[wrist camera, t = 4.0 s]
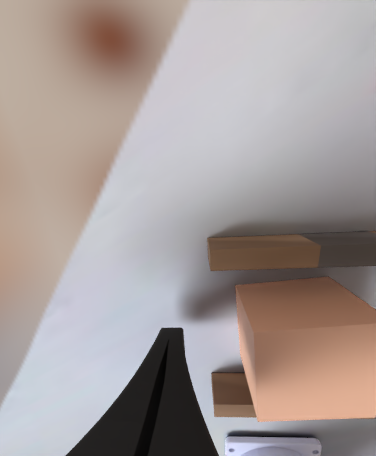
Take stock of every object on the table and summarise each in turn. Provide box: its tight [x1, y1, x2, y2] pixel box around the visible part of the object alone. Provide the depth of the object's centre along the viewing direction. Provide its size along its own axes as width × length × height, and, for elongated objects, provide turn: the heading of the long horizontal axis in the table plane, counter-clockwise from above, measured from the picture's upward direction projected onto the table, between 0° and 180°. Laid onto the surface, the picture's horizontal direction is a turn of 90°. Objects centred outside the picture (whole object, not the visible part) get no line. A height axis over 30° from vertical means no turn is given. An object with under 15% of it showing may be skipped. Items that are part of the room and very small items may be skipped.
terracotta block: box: [235, 276, 376, 422], centre depth 10 cm, size 6×6×4 cm
